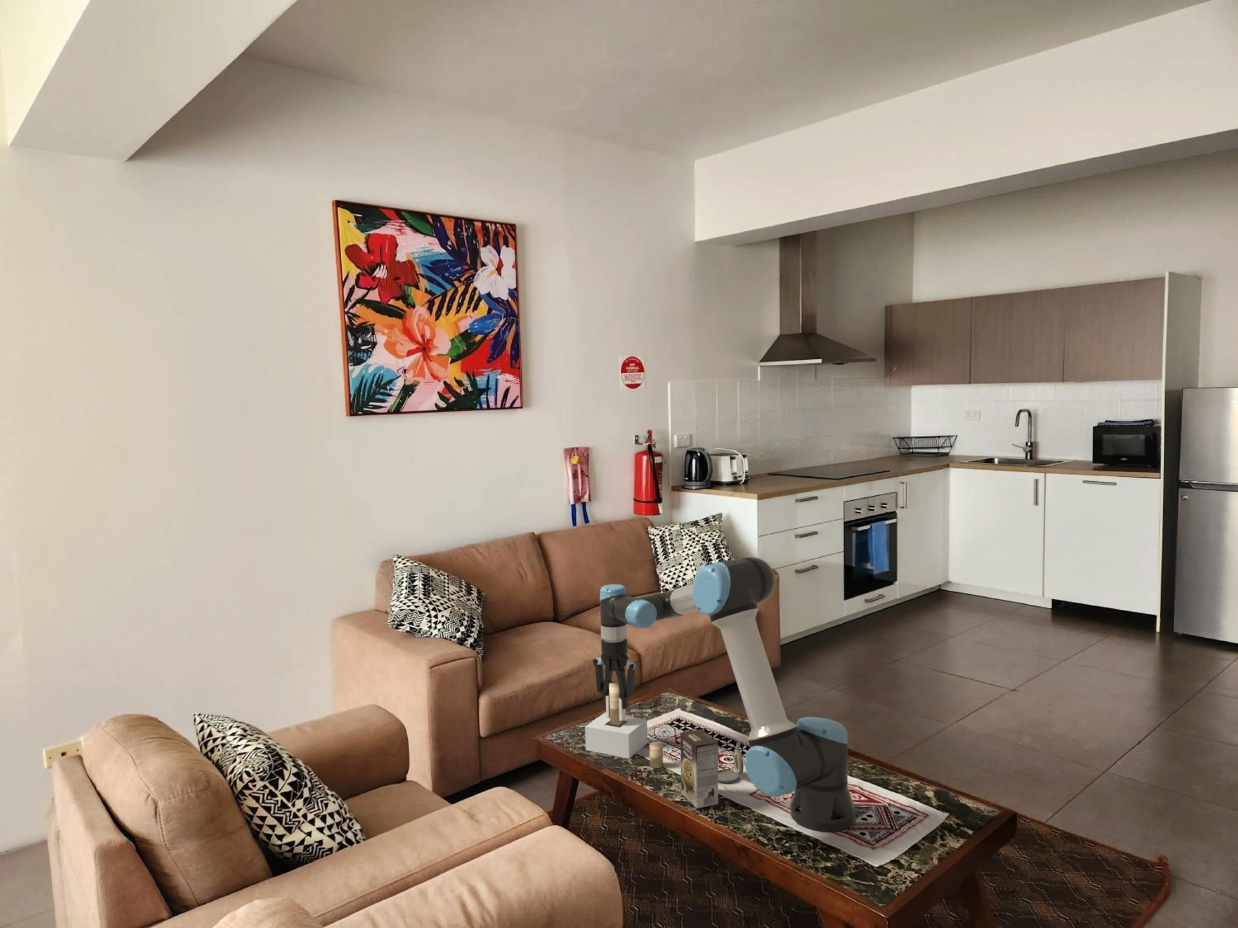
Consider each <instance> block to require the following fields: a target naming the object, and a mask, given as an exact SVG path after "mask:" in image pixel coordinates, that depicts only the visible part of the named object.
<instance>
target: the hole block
mask: <svg viewBox="0 0 1238 928" xmlns="http://www.w3.org/2000/svg"><path fill="white" fill-rule="evenodd" d="M584 735H585V739H584V740H585V751H589V752H594V753H599V754H603V755H610V756H614V757H618V758H624V759H630V758H632V757H633V756H634V755H635V754H636V753H637V752H639V751H640V750H641V749H642V748H643V747H644V746H646V745H647V744H648V719H647V718H646V719H645V718H641V717H640V718H639V717H633V716H629V715H626V718H625V719H624V720H623V726H622V727H614V726H610V718H609V719H608V718H606V712H603V714H600V716H598V717H597V718H595V719H593V720H592V721H591V722H589V723H588V724H586V726H584Z"/></svg>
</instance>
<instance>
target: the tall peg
mask: <svg viewBox="0 0 1238 928" xmlns="http://www.w3.org/2000/svg"><path fill="white" fill-rule="evenodd" d="M609 697H610V726H614V727H622V726H623V720H622V721H619V698H620V697H621V693H620V687H619V682H618V680H613V681H611V682H609Z"/></svg>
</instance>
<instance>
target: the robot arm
mask: <svg viewBox="0 0 1238 928" xmlns="http://www.w3.org/2000/svg"><path fill="white" fill-rule="evenodd" d="M775 587H776V576H775V572H774V570H773V568H772V567H771V566H770V564H769V563H767V562H766V561H765V560H763V559H761V558H759V557H753V556H752V557H751V556H747V557H742V558H736V559H729V560H722V561H717V562H713V563H710V564H707V565H705V566H703V567H701V568H700V569H699V570H698V571H697V573H696V574H695V576H694V580H693V583H690V584H687V585H684V586H681V587H677V588H674V589H671V590H668V591H663V592H658V593H654V594H649V595H648V594H647V595H644V596H637V597H632V596H629V595H627V589H626V587H625V586H624V585H623V584H616V583H615V584H613V583H612V584H605V585H603V586H602V587H600V590H599V612H600V614H599V615H600V639H601V640H600V642H601V643H600V645H601V655H600V656H597V657H596V658H594V659H593V660H592V663H593V665H594V670H595V680H596V681H595V682H596V692H597V693H599V694H600V693H601V694H602V695H603V706H604V707H605V710H606V712H605V713H606V718H608V719H609V718H610V697H609V682H611V681H612V680H613V673H614V672H615V674H616V677H617V681H618V682H619V687H620V693H621V697H620V698H619V721H622V720H624V719H625V718H626V716H627V709H628V708H629V698H631V697H632V696H633V695H635V685H636V684H635V683H636V682H635V679H636V678H635V676H636V675H635V674H636V669H637V666H638V663H637V662H636V661H631V660H630V658H629V656H628V639H627V637H628V625H630V626H631V627H635V628H638V629H647V628H650V627H652V625H653V624H654V623H656V622H659V621H663V620H666V619H671V618H679V617H682V616H684V615H687V614H691V613H694V612H699V611H700V612H701V613H702V614H704V615H706V616H709V618H710V622H711V624H712V625H713V626H715V627H717V628H718V629H719V630H720V633H721V636H722V639H723V643H724V645H725V649H726V652H727V655H728V659H729V662H730V664H731V668H732V671H733V674H734V677H735V682H736V684H737V687H738V691H739V693H740V697H741V701H742V703H743V707H744V710H745V713H746V716H747V719H748V723H749V726H750V728H751V730H750V732H749V734H748V736H747V741H748V745H749V747H750V748H749V749H748V750H747V751H746V753H745V759H744V766H745V767H744V768H745V770H746V774H747V775H748V778H749V779H750V781H751V783H752V784H753V785H754V787H755V788H756V789H757V790H759V791H760V792H761V793H763V794H764V795H766V796H769V797H773V798H776V797H777V798H778V797H782V796H784V795H791V794H792V793H793V795H792V797H791V801H790V805H789V806H790V807H789V808H790V811H789V812H790V817H791V818H792V819H793V821H794V822H795V823H797V824H798V825H800V826H802V827H804V828H807V829H810V830H813V831H819V832H838V831H839V832H840V831H843V830H846V829H849V828H850V827H852V826H853V825H854V824H855V823H856V807H855V804H854V801H853V799H852V795H851V793H850V790H849V789H850V788H849V785H848V784H849V783H848V775H849V774H848V771H849V770H848V769H849V768H848V767H849V766H848V765H849V764H848V763H849V762H848V759H849V758H848V756H849V755H848V754H849V753H848V751H849V750H848V746H849V741H848V731H847V729H846V727H845V726H844V725H843V724H842V723H840V722H838V721H835V720H832V719H829V718H826V717H825V718H824V717H818V716H817V717H816V716H806V717H805V716H804V717H801V718H798V720H797V721H796V722H797V723H795V722H792V721H790V719H788V718H787V717H788V716H787V714H786V711H785V708H784V706H783V702H782V698H781V696H780V693H779V690H778V687H777V684H776V680H775V677H774V674H773V672H772V669H771V664H770V662H769V658H768V655H767V653H766V650H765V647H764V646H765V645H764V643H763V640H762V637H761V634H760V631H759V629H758V624H757V622H756V617H757V613H758V611H759V608H758V607H759V606H758V604H761V603H762V602H765V601H766V600H767V599H768V598H770V596H771V595H772V594H773V592H774V590H775ZM603 665H604V666H605V668H604V666H603ZM626 666H627V667H626ZM625 667H626V668H625ZM626 669H627V677H626Z"/></svg>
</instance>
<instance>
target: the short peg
mask: <svg viewBox="0 0 1238 928" xmlns="http://www.w3.org/2000/svg"><path fill="white" fill-rule="evenodd" d="M663 745H664V744H663V743H662V742H660V741H652V742H650V743H649V766H650V768H652V769H655V768H659V769H662V768H663V767H664V752H663V751H664V746H663Z"/></svg>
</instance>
